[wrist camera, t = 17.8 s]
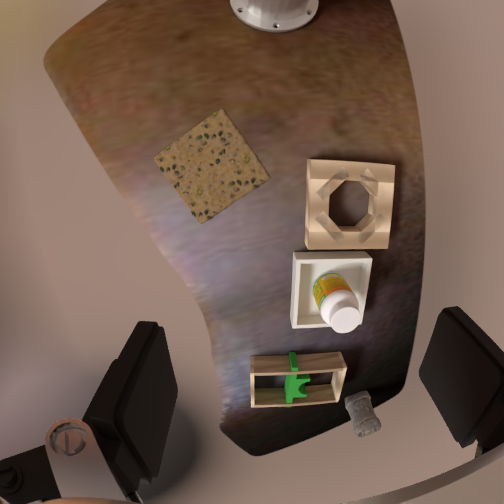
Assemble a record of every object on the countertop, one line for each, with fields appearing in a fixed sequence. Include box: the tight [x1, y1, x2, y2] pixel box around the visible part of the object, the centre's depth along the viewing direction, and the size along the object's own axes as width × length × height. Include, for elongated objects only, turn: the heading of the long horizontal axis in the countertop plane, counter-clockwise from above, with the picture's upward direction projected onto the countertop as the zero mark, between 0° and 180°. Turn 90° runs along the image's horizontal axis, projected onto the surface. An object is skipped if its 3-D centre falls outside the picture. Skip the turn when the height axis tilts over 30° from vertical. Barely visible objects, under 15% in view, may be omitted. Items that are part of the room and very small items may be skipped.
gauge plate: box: [305, 159, 395, 250], centre depth 39 cm, size 12×12×3 cm
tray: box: [290, 251, 372, 328], centre depth 43 cm, size 11×11×3 cm
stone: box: [345, 390, 381, 437], centre depth 49 cm, size 3×6×10 cm, turn 111°
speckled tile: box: [154, 109, 270, 224], centre depth 38 cm, size 12×12×1 cm
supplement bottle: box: [312, 272, 361, 333], centre depth 39 cm, size 5×5×10 cm
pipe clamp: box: [284, 352, 310, 407], centre depth 48 cm, size 10×4×4 cm, turn 178°
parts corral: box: [250, 352, 347, 407], centre depth 48 cm, size 9×16×4 cm, turn 91°
